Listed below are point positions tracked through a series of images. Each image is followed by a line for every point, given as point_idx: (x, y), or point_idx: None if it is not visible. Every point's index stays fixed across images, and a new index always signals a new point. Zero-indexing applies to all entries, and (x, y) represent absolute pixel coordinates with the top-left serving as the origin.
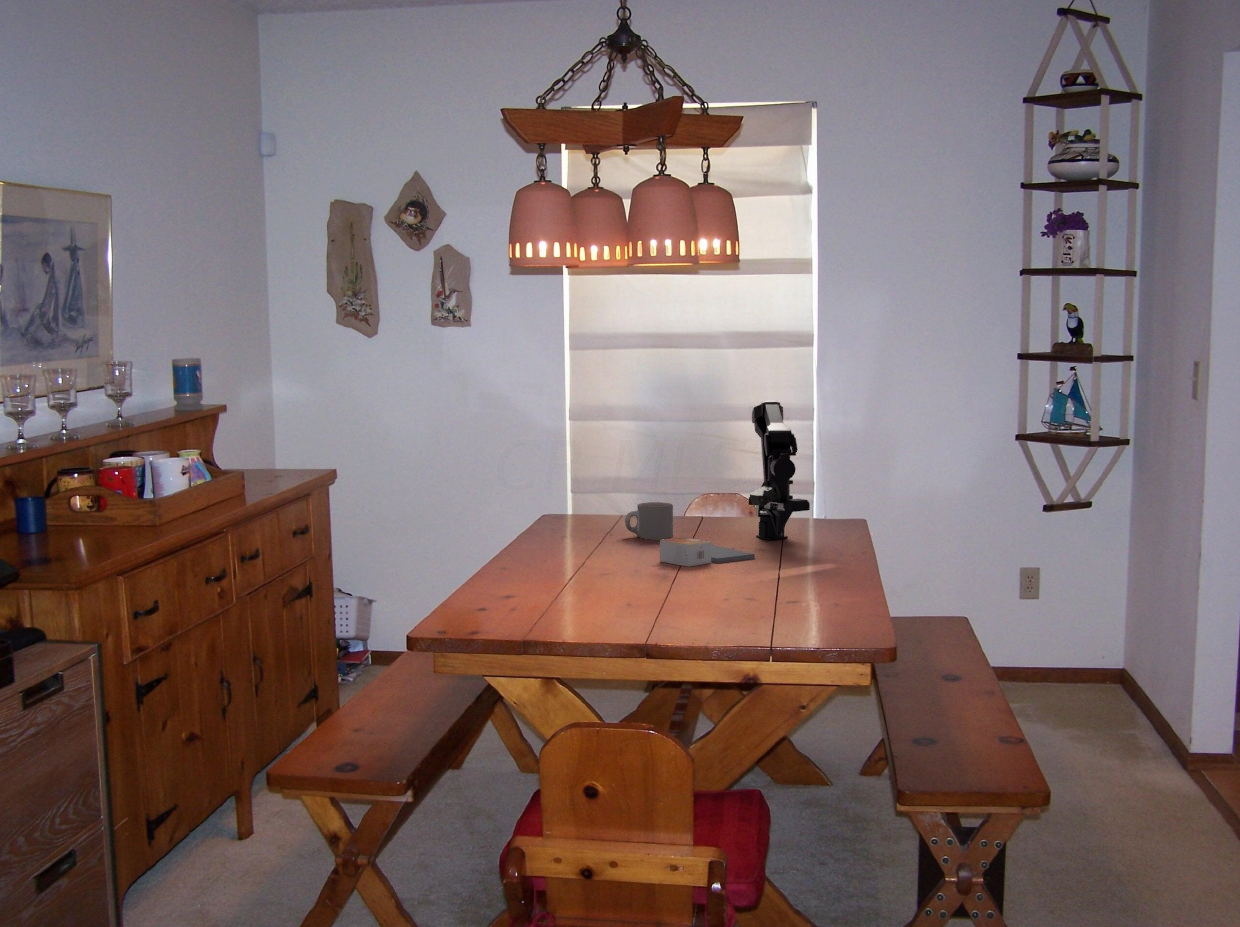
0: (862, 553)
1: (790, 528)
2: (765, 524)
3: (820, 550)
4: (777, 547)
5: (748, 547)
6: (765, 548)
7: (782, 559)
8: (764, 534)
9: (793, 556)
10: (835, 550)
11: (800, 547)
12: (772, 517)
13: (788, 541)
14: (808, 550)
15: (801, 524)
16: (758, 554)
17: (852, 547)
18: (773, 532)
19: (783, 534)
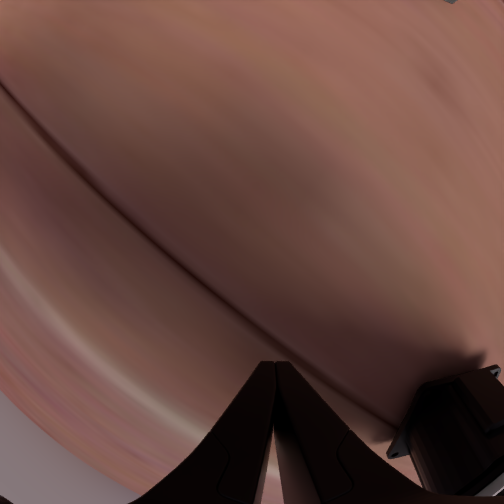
0: (34, 421)
1: None
2: (485, 424)
3: (108, 403)
4: (297, 329)
5: (414, 179)
6: (319, 242)
7: (3, 101)
8: (463, 384)
9: (20, 194)
10: (94, 428)
11: (219, 409)
12: (342, 481)
13: (377, 443)
14: (124, 376)
15: None
16: (155, 50)
17: (134, 480)
18: (434, 426)
19: (411, 455)
